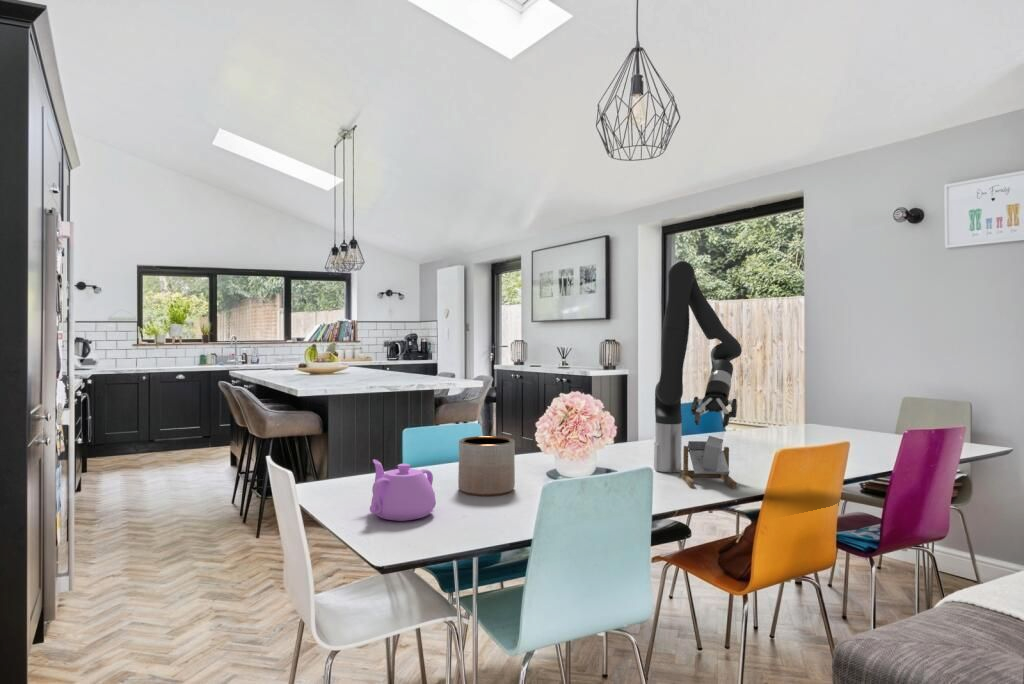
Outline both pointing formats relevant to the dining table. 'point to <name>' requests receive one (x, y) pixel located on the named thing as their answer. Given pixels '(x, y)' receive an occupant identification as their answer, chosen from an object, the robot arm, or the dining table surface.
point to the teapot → (402, 493)
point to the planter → (486, 465)
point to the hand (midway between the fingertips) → (710, 424)
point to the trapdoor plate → (699, 455)
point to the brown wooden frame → (687, 474)
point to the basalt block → (712, 453)
